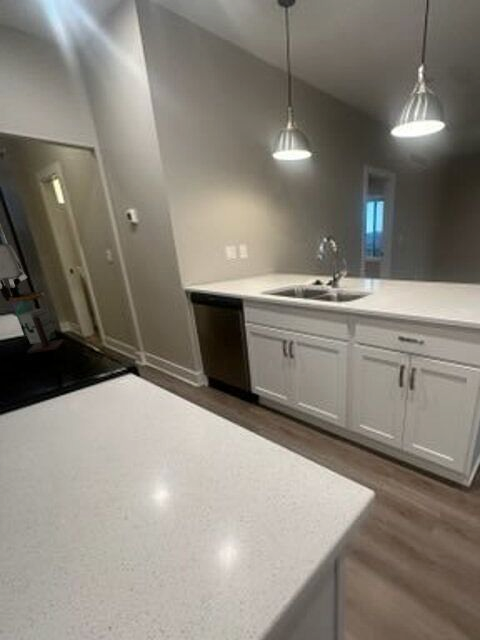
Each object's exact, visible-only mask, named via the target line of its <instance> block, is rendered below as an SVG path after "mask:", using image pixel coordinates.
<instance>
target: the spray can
mask: <svg viewBox="0 0 480 640" xmlns="http://www.w3.org/2000/svg"><path fill="white" fill-rule="evenodd" d="M17 288H18V291H19V293H20V294H24V293H26V291H25V290H22V289H21V288H19V285H18V286H17ZM10 294H11V291H10ZM11 296H12V294H11ZM10 302H11V305H12V307H13V310H14V313H15V315H16V318H17V320H18V323H19V326H20V329H21V332H22V333H23V336H24V337H25V336H27V334H26V332H25V329H24V327H23V324H22V322H21V319H20V316H19V315H20V314H23V313H26V312H29V311H32V310H33V307H32V306H31V302H30V300H26V301H10Z"/></svg>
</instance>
